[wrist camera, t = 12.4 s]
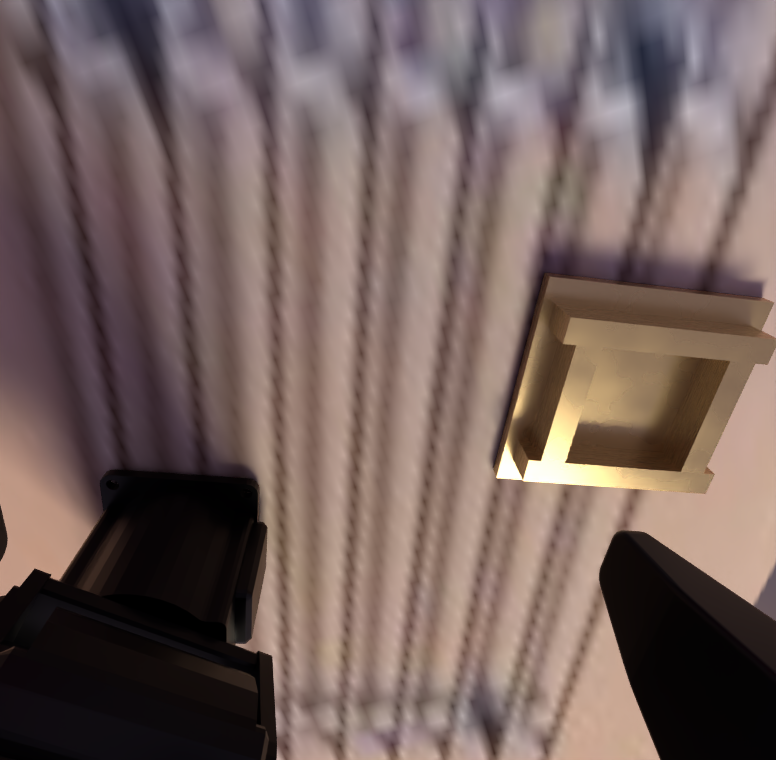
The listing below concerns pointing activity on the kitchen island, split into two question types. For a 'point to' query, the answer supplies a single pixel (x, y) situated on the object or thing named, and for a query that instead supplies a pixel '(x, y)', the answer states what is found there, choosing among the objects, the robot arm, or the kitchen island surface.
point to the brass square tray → (629, 383)
